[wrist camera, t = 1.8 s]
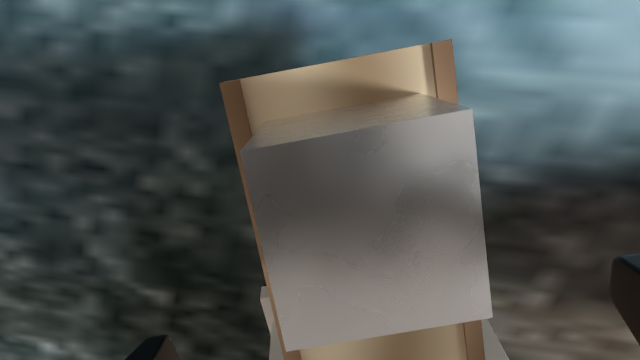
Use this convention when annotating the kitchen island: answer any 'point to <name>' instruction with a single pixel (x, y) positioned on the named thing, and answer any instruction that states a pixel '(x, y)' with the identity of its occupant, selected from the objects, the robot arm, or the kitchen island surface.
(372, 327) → the steel block
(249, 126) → the beam
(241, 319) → the kitchen island surface
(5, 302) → the kitchen island surface
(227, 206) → the kitchen island surface
